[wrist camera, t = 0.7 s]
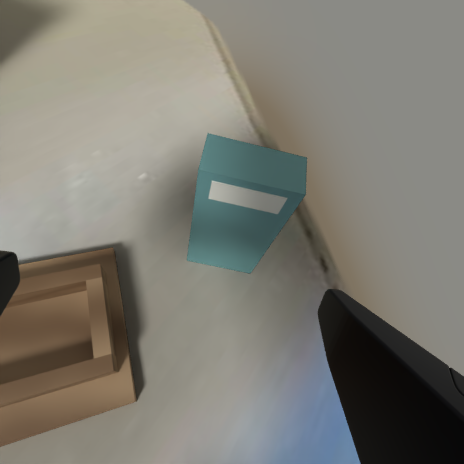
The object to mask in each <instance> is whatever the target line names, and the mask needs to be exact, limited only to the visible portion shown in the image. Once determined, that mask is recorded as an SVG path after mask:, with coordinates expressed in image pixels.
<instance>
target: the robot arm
mask: <svg viewBox="0 0 464 464" xmlns="http://www.w3.org/2000/svg"><path fill="white" fill-rule="evenodd" d="M19 283H20V271H19V265H18V259H17V255H16V254H15V253H14V252H8V251H0V316H1V315H2V313H3V311H4V310H5V308H6V306H7V304H8V303H9V301H10V299H11V298H12V296H13V294H14V293H15V291H16V289H17V288H18V286H19ZM318 319H319V324H320V328H321V333H322V338H323V343H324V347H325V352H326V357H327V361H328V364H329V368H330V371H331V374H332V377H333V380H334V383H335V386H336V389H337V392H338V395H339V398H340V402H341V405H342V408H343V411H344V414H345V417H346V420H347V423H348V426H349V429H350V432H351V435H352V438H353V442H354V445H355V448H356V451H357V454H358V457H359V460H360V463H361V464H464V376H462V375H461V374H459V373H458V372H457V371H455V370H454V369H452V368H449V366H448V365H447V364H445V363H444V362H442V361H441V360H439V359H438V358H437V357H435V356H434V355H432V354H431V353H429V352H428V351H426V350H425V349H424V348H422V347H421V346H419V345H418V344H417V343H415V342H414V341H412V340H411V339H410V338H408V337H407V336H405V335H404V334H402V333H401V332H400V331H398V330H397V329H395V328H394V327H392V326H391V325H389V324H388V323H387V322H385V321H384V320H382V319H381V318H379V317H378V316H377V315H375V314H374V313H372V312H371V311H370V310H368V309H367V308H365V307H364V306H363V305H361V304H360V303H358V302H357V301H355V300H354V299H353V298H351V297H350V296H348V295H347V294H345V293H344V292H343V291H341V290H335V289H328V290H326V292H325V294H324V296H323V299H322V301H321V304H320V306H319V309H318Z"/></svg>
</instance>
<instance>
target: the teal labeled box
mask: <svg viewBox="0 0 464 464" xmlns="http://www.w3.org/2000/svg"><path fill="white" fill-rule="evenodd" d="M306 168H307V158H306V157H302V156H298V155H294V154H290V153H286V152H282V151H278V150H274V149H270V148H266V147H262V146H258V145H253V144H249V143H245V142H241V141H237V140H233V139H229V138H225V137H221V136H217V135H213V134H209V133H208V134H207V138H206V142H205V146H204V150H203V154H202V158H201V161H200V165H199V169H198V177H197V184H196V192H195V200H194V208H193V216H192V224H191V232H190V239H189V247H188V255H187V261H192V262H197V263H202V264H207V265H212V266H216V267H221V268H226V269H231V270H236V271H241V272H246V273H251V272H252V270H253V269H254V267H255V266H256V265H257V263H258V262H259V260H260V259H261V258H262V256H263V255H264V253H265V252H266V250H267V249H268V248H269V246H270V245H271V243H272V242H273V240H274V239H275V238H276V236H277V235H278V233H279V232H280V231H281V229H282V228H283V226H284V225H285V223H286V222H287V221H288V219H289V218H290V216H291V215H292V213H293V212H294V211H295V209H296V208H297V206H298V205H299V204H300V202H301V201H302V199H303V198H304V196H305V195H306Z"/></svg>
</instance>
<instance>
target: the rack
mask: <svg viewBox="0 0 464 464" xmlns="http://www.w3.org/2000/svg"><path fill="white" fill-rule="evenodd" d="M19 271H20V283H19V286H18V288H17V289H16V291H15V293H14V294H13V296H12V298H11V299H10V301H9V303H8V304H7V306H6V308H5V310H4V311H3V313H2V315H1V316H0V447H1V446H4V445H7V444H10V443H13V442H16V441H19V440H22V439H25V438H28V437H31V436H34V435H37V434H40V433H43V432H46V431H49V430H52V429H55V428H58V427H61V426H64V425H67V424H70V423H73V422H76V421H79V420H82V419H85V418H88V417H91V416H94V415H97V414H100V413H103V412H106V411H109V410H112V409H115V408H118V407H121V406H124V405H127V404H130V403H133V402H136V401H137V399H136V392H135V385H134V378H133V372H132V365H131V358H130V351H129V345H128V338H127V331H126V324H125V318H124V311H123V304H122V297H121V291H120V284H119V277H118V270H117V264H116V257H115V252H114V249H113V247H112V248H107V249H102V250H96V251H91V252H85V253H80V254H75V255H69V256H64V257H58V258H53V259H48V260H42V261H37V262H31V263H26V264H21V265H19Z"/></svg>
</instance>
